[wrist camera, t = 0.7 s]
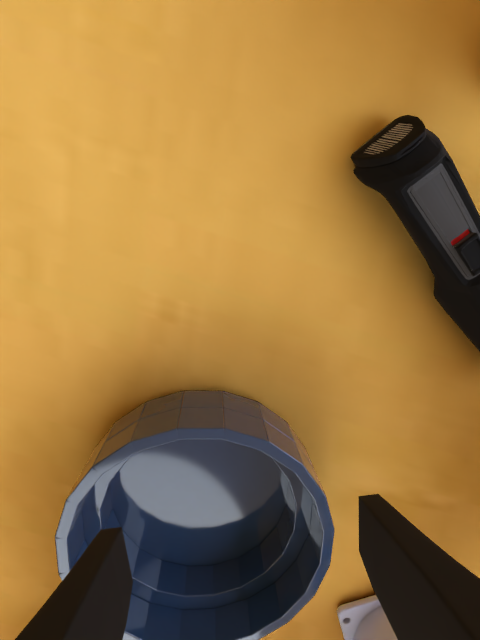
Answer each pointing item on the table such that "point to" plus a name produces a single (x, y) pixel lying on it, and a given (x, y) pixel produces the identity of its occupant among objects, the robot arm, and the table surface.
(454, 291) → the electric trimmer
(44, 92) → the table surface
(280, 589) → the bowl
